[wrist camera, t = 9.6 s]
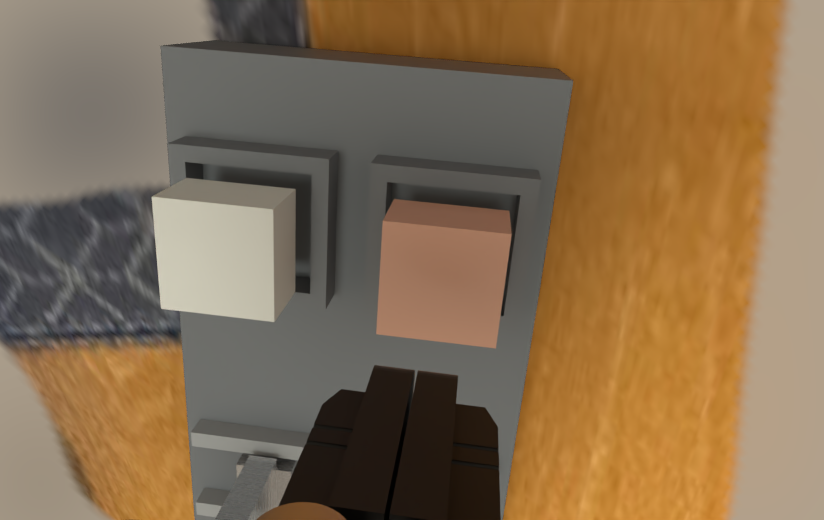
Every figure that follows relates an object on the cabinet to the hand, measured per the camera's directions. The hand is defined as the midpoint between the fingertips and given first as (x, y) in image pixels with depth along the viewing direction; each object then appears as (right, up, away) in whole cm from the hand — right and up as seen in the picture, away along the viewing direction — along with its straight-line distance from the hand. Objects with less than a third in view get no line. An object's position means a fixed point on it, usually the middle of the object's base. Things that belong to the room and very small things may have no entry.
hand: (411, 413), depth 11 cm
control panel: (-2, +1, +14) cm, 14 cm away
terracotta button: (+1, +3, +7) cm, 7 cm away
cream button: (-5, +3, +7) cm, 9 cm away
